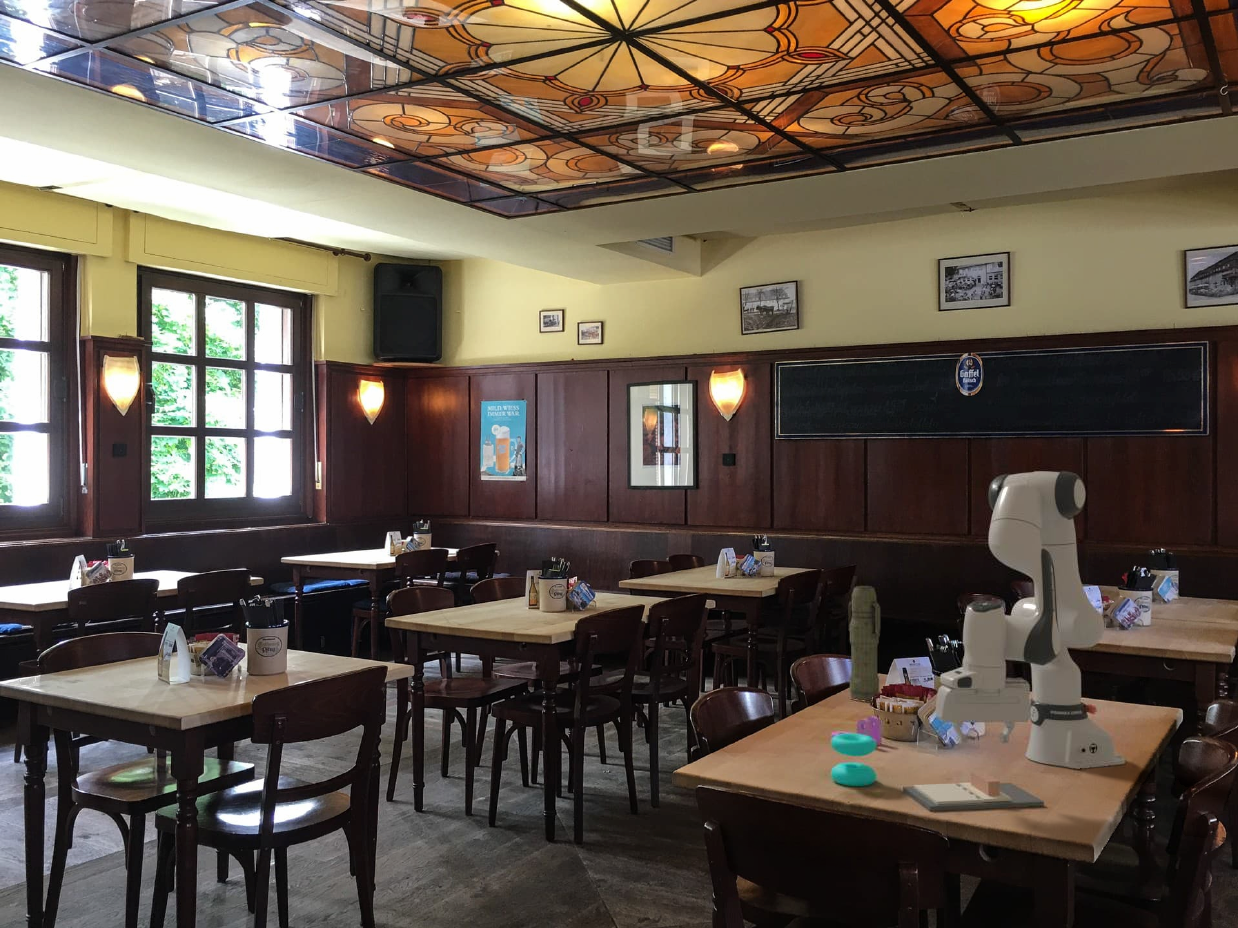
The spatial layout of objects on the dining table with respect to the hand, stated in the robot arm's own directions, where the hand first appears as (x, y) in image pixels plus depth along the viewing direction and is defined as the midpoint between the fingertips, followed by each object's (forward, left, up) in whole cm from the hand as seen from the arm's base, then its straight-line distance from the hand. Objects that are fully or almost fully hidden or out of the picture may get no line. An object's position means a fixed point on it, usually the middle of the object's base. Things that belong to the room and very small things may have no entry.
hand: (982, 742), depth 228 cm
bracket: (+10, -52, -12) cm, 54 cm away
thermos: (-12, -103, -12) cm, 105 cm away
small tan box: (0, 0, -11) cm, 11 cm away
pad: (+3, 0, -12) cm, 12 cm away
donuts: (+23, -16, -12) cm, 31 cm away
